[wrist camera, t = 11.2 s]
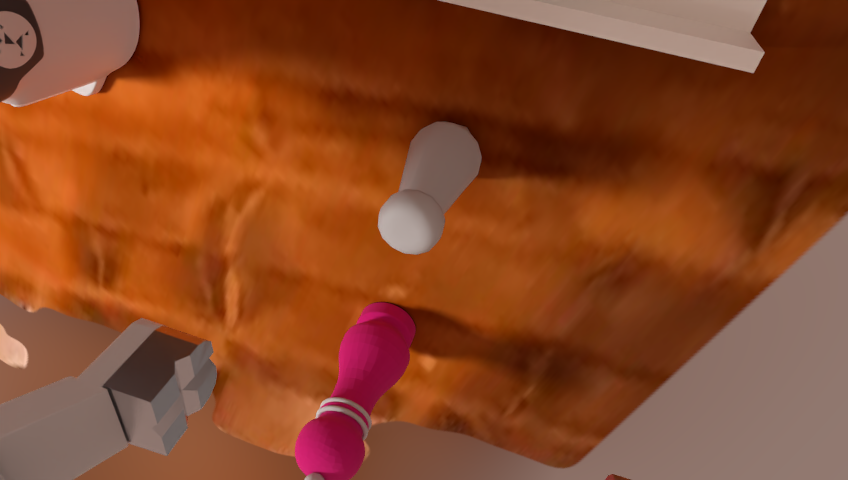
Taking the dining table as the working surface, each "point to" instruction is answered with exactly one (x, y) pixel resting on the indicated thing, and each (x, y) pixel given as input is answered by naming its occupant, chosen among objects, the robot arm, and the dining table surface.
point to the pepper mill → (356, 393)
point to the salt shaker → (429, 186)
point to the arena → (651, 24)
